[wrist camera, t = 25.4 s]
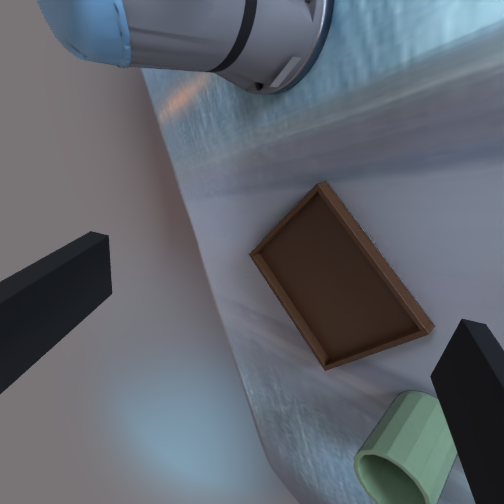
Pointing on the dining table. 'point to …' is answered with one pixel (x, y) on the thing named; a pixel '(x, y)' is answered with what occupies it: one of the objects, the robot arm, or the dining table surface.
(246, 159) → the dining table surface
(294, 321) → the tray
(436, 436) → the cup
